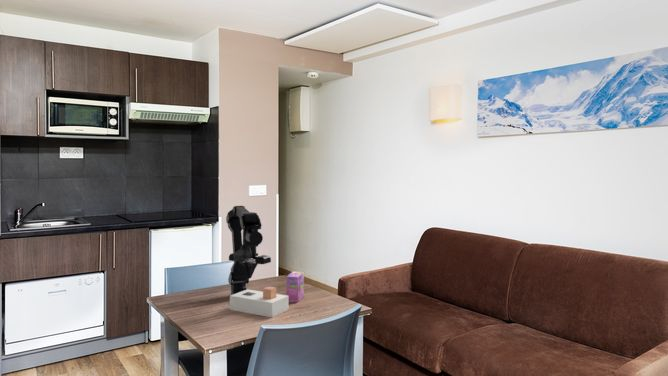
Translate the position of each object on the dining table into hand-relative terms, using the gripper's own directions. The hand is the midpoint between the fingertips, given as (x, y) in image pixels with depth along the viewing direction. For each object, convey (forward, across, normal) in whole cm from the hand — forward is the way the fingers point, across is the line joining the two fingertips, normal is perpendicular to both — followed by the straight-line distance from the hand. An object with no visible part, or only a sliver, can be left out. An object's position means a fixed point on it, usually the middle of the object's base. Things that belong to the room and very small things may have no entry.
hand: (249, 278), depth 197 cm
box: (+13, +10, +21) cm, 27 cm away
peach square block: (+9, +11, 0) cm, 14 cm away
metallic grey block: (+12, 0, 0) cm, 12 cm away
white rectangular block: (+13, +5, 0) cm, 14 cm away
